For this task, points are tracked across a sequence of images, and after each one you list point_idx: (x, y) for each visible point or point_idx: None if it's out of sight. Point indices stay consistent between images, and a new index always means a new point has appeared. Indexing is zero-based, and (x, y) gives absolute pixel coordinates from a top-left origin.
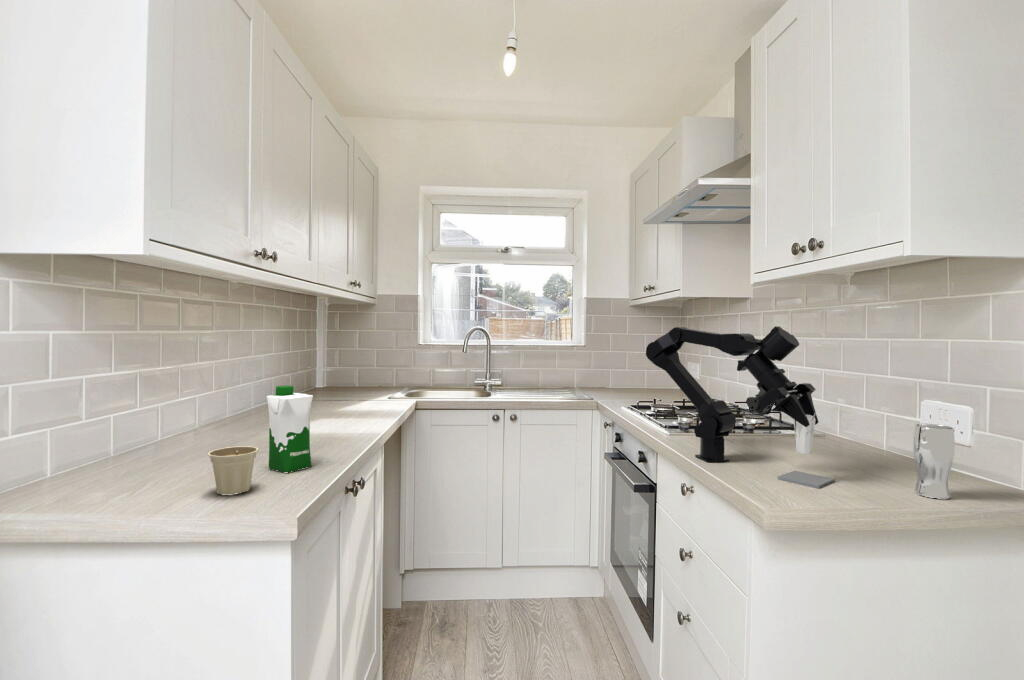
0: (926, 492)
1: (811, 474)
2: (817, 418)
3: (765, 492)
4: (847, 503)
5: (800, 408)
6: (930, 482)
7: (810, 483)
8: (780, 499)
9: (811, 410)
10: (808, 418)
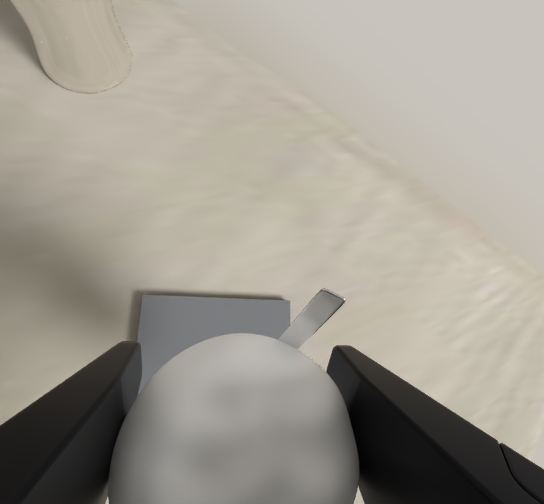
0: (126, 56)
1: (141, 382)
2: (97, 358)
3: (467, 396)
4: (364, 200)
5: (528, 468)
6: (114, 20)
7: (283, 330)
8: (485, 333)
9: (68, 461)
10: (319, 377)
